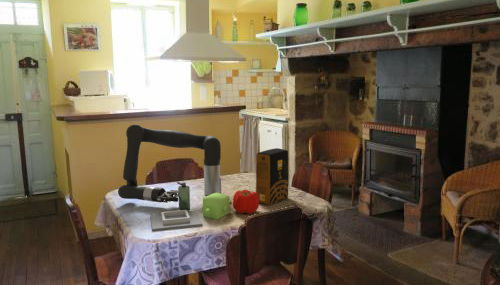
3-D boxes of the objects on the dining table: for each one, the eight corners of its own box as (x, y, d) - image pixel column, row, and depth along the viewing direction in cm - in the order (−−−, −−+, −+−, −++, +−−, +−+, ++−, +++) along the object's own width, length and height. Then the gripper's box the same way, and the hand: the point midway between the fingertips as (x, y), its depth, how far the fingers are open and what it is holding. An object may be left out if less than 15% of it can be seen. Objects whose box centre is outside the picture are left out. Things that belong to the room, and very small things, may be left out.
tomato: (228, 210, 204) (227, 190, 202) (251, 206, 210) (250, 186, 209) (240, 218, 192) (240, 196, 190) (264, 213, 198) (264, 192, 197)
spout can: (189, 207, 208) (188, 179, 206) (190, 211, 203) (190, 182, 200) (177, 208, 206) (176, 180, 204) (178, 212, 201) (177, 183, 199)
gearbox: (213, 224, 186) (213, 204, 184) (196, 219, 191) (196, 200, 190) (235, 212, 201) (235, 194, 199) (219, 208, 206) (219, 190, 205)
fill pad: (195, 212, 201) (195, 206, 201) (202, 225, 182) (202, 219, 182) (150, 216, 195) (150, 210, 195) (152, 231, 176) (152, 224, 176)
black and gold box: (290, 197, 225) (290, 148, 220) (270, 206, 210) (270, 153, 205) (274, 194, 231) (274, 146, 227) (253, 202, 216) (253, 151, 212)
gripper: (146, 191, 202) (174, 193, 197) (161, 184, 216) (188, 186, 210) (146, 205, 203) (175, 208, 198) (162, 197, 217) (189, 200, 211)
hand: (182, 197), depth 204 cm, fingers open, 8 cm apart
